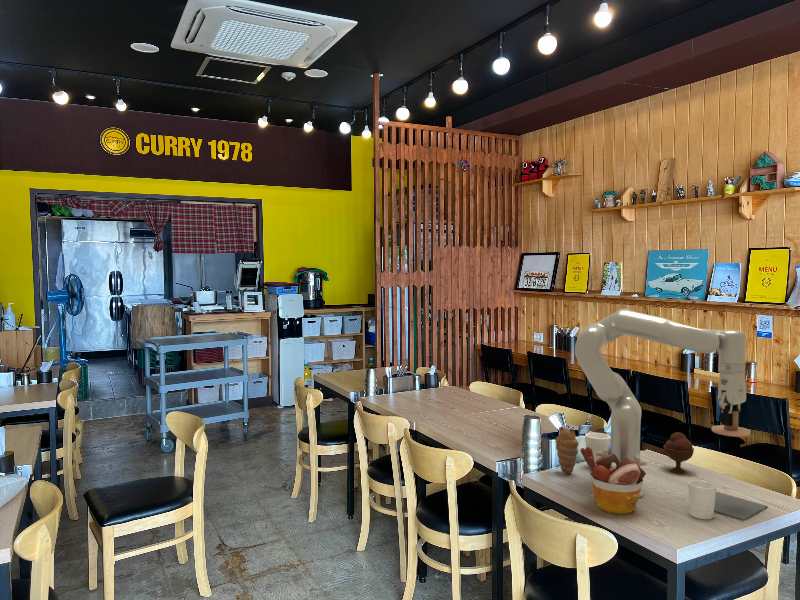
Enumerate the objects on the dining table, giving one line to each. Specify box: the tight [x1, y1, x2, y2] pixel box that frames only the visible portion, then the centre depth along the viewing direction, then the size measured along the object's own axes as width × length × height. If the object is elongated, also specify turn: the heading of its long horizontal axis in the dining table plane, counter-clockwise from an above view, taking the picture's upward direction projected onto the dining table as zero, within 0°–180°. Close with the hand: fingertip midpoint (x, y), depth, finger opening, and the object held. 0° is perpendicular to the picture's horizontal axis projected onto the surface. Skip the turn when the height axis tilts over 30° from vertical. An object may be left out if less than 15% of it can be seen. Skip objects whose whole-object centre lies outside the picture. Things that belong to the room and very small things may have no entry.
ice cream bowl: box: [662, 431, 695, 475], centre depth 228 cm, size 11×11×15 cm
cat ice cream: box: [554, 425, 579, 475], centre depth 225 cm, size 9×8×18 cm
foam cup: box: [584, 432, 611, 466], centre depth 232 cm, size 10×9×13 cm
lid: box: [711, 410, 751, 438], centre depth 192 cm, size 11×11×7 cm
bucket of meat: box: [580, 447, 648, 515], centre depth 191 cm, size 20×16×20 cm
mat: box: [714, 491, 769, 522], centre depth 194 cm, size 18×16×1 cm
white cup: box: [687, 479, 717, 521], centre depth 186 cm, size 8×8×10 cm
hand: (730, 423), depth 192 cm, fingers closed on lid, 4 cm apart
